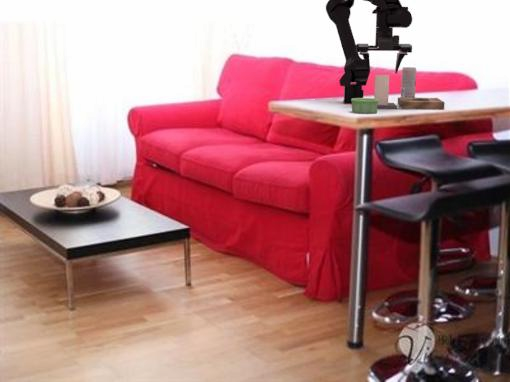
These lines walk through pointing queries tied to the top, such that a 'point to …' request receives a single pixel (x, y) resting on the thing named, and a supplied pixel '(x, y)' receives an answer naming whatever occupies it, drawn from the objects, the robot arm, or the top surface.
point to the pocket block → (421, 103)
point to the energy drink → (408, 82)
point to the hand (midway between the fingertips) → (382, 73)
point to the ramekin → (364, 105)
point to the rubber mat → (387, 106)
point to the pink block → (381, 89)
